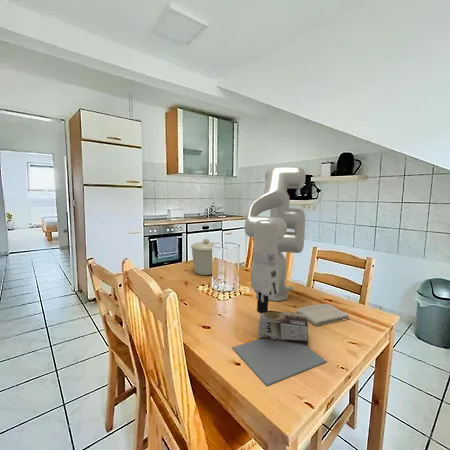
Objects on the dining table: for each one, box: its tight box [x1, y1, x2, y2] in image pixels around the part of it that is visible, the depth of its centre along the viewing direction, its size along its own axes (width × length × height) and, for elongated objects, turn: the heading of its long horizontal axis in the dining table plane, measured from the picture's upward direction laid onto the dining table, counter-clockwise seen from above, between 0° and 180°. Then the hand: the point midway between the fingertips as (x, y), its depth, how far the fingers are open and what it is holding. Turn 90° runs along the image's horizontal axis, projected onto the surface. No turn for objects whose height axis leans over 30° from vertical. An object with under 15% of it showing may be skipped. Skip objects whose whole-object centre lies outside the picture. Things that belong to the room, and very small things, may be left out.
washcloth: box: [295, 303, 349, 327], centre depth 106 cm, size 12×18×3 cm, turn 114°
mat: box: [232, 337, 327, 387], centre depth 80 cm, size 22×18×1 cm
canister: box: [190, 238, 218, 276], centre depth 157 cm, size 18×18×21 cm
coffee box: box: [257, 309, 309, 345], centre depth 91 cm, size 9×6×16 cm
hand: (262, 311), depth 87 cm, fingers closed
